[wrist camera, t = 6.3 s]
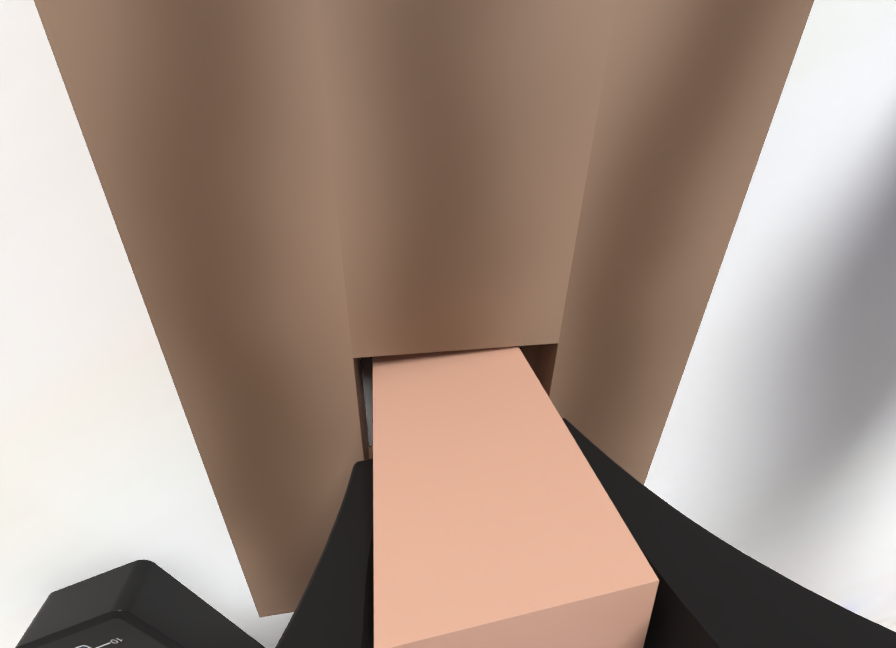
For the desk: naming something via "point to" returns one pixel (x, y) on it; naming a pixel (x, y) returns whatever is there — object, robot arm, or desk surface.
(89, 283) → the desk surface
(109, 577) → the multiport hub
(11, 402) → the desk surface
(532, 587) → the pin
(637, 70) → the pin plate
